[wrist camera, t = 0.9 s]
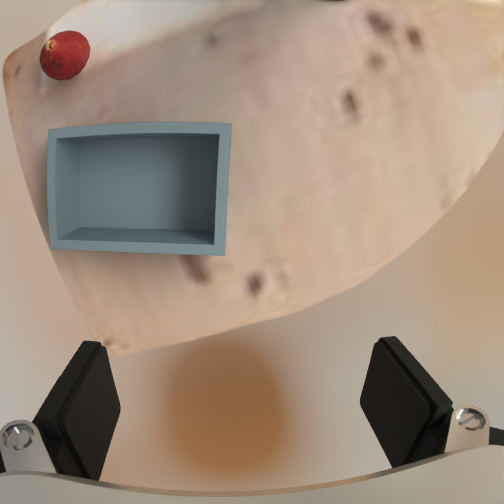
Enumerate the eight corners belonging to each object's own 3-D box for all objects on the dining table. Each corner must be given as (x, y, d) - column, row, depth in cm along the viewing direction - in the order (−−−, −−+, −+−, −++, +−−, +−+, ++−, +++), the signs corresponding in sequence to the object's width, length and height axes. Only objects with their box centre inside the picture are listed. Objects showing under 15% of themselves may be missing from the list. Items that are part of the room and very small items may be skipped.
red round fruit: (96, 81, 30) (67, 65, 23) (55, 88, 30) (21, 76, 22) (101, 38, 29) (76, 14, 21) (61, 46, 28) (30, 27, 20)
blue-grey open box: (77, 133, 32) (48, 129, 25) (230, 131, 33) (231, 123, 27) (77, 233, 35) (50, 249, 28) (224, 238, 37) (224, 255, 30)
